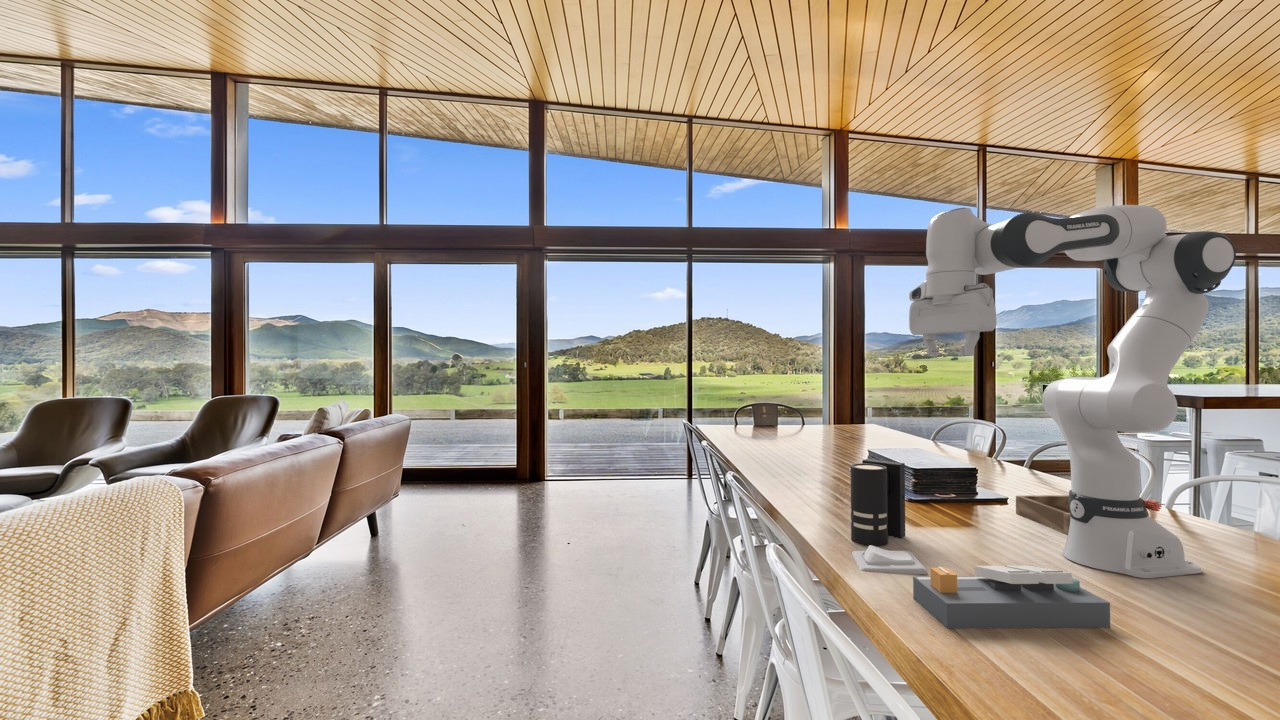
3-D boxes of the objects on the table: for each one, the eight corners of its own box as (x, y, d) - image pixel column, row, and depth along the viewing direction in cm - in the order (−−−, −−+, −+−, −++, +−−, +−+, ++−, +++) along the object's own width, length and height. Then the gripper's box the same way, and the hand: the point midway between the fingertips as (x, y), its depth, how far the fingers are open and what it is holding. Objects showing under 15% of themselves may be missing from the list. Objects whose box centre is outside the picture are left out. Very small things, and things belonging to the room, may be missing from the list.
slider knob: (946, 584, 95) (946, 566, 95) (957, 592, 92) (957, 573, 92) (930, 584, 95) (930, 566, 95) (940, 592, 92) (940, 573, 92)
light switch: (849, 540, 123) (911, 539, 120) (851, 558, 123) (912, 558, 120) (859, 556, 112) (926, 556, 110) (860, 577, 112) (928, 577, 110)
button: (1069, 584, 95) (1069, 576, 95) (1084, 592, 91) (1084, 583, 91) (1051, 584, 95) (1051, 576, 95) (1065, 592, 92) (1065, 583, 92)
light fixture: (841, 540, 131) (841, 465, 131) (866, 527, 141) (866, 458, 141) (883, 550, 124) (882, 471, 124) (906, 536, 133) (905, 463, 134)
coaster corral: (1083, 513, 152) (1083, 495, 152) (1144, 534, 133) (1144, 513, 133) (1015, 513, 152) (1015, 495, 152) (1067, 534, 134) (1067, 514, 134)
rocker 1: (1000, 575, 98) (998, 564, 98) (1038, 583, 88) (1036, 572, 89) (975, 575, 98) (973, 564, 98) (1011, 583, 88) (1009, 572, 89)
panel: (1058, 597, 99) (1058, 570, 99) (1110, 627, 88) (1109, 596, 88) (913, 598, 99) (913, 570, 99) (947, 628, 88) (946, 597, 88)
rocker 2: (1031, 575, 98) (1029, 564, 98) (1073, 583, 88) (1071, 572, 89) (1006, 575, 98) (1004, 564, 98) (1045, 583, 88) (1043, 572, 89)
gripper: (1005, 282, 103) (1005, 355, 103) (928, 294, 123) (928, 356, 123) (977, 280, 102) (976, 355, 102) (903, 293, 122) (903, 355, 122)
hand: (949, 355), depth 113 cm, fingers open, 8 cm apart
